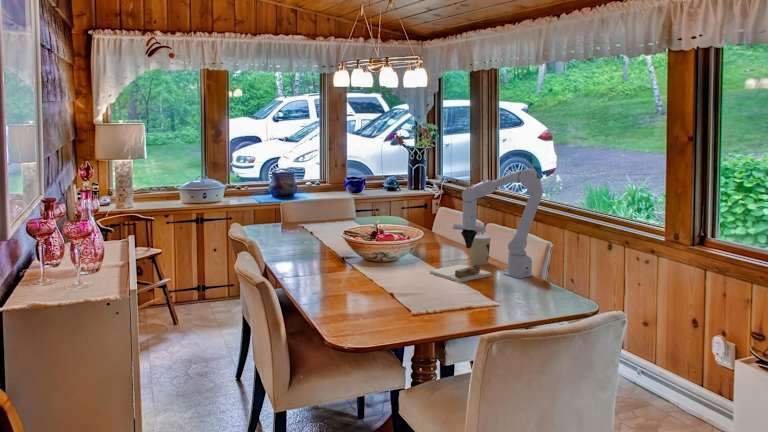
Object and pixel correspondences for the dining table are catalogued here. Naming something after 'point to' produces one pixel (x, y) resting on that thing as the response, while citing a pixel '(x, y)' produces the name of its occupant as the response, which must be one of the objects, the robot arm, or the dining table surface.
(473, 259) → the coffee cup
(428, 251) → the dining table surface
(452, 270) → the latch board
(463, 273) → the bar
